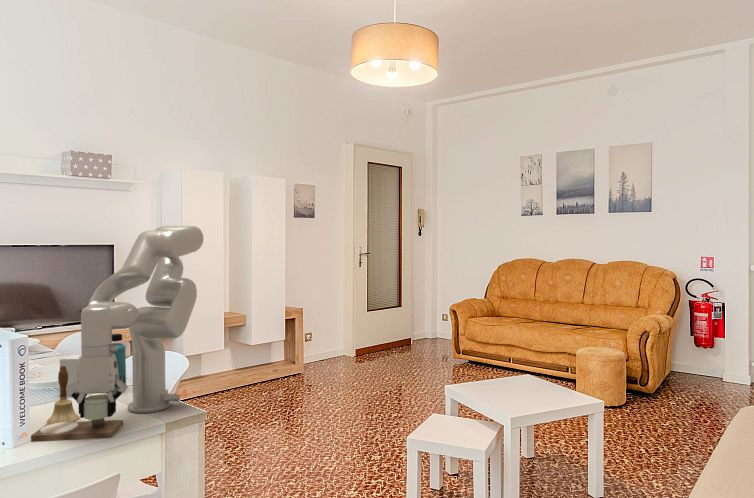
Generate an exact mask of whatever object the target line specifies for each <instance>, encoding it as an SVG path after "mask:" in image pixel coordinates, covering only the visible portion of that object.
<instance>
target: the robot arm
mask: <svg viewBox="0 0 754 498" xmlns="http://www.w3.org/2000/svg"><path fill="white" fill-rule="evenodd" d="M203 243H204V234H203V232H202V230H201V229H200V227H198V226H196V225H164V226H159V227H157V228H155V229H153V230H145V231H142V232H141V233H139V235H137V238H136V239H135V241H134V243H133V245H132V247H131V250H130V252H129V253H128V255H127V257H126V259H125V261H124V264H123V265H122V267H121V268H120V269H119V270H117V271H116V272H114V273H113V274H111V275H110V276H109V277H108V278H107V279H105V280H104V281H103V282H102V283H100V284H99V286H97V288H96V289H95V291H94V292H93V293H92V296H91V297H90V299H89V301H88V304H87V306H85V307H83V308H81V309H82V310H81V311H80V327H81V328H80V331H81V332H80V337H81V339H80V345H81V346H80V348H81V350H80V351H81V353H80V355H81V356H80V357H79V360H78V365H77V371H76V380H75V381H74V382H73V383H72V384H71V385H70V386H69V387H68V388H67V389H66V391H67V392H68V393H69V394H70V395H71V396H70V397H72V398H73V399H74V400H75V401H76V403H77V404H78V414H79V419H84V403H85V398H87V397H88V394H105V395H107V396H108V398H109V403H108V417H107V418H112V416H114V414H115V413H116V412H117V402H116V401H117V400H118V399H119V398H120V397H121V396H122V394H123V393H124V392H125V391H127V389H128V388H129V386H128V385H127V383H126V384H125V383H124V382H123V381H121V380H120V379H119V373H118V365H117V359H116V355H115V354H112V353H113V352H114V351H117V346H113V341H112V334H113V330H124V329H125V330H126V329H128V330H129V331H128V332H129V334H130V340H131V346H132V347H131V349H132V350H131V351H132V357H131V359H132V401H131V402H130V403H129V404H128V405H127V410H128V411H129V412H131V413H135V414H139V413H140V414H146V413H147V414H148V413H155V412H159V411H162V410H166V409H168V408H170V406H171V405H172V402H179V401H180V399H181V398H180V394H178V393H170V392H169V389H166V349H165V345H164V343H163V341H162V340H161V339H177V338H179V337H181V336H182V335H183V334H184V333H185V331H186V328H187V326H188V323H189V321H190V318H191V316H192V312H193V310H194V307H195V304H196V301H197V296H198V289H197V285H196V283H195V282H194V281H193V280H191V279H190V278H185V277H182V276H183V274H184V264H183V262H182V259H181V258H180V257H182V256H183V257H184V256H185V255H189V254H192V253H195V252H197V251H198V250H199V249H201V247H202V246H203ZM150 279H151V280H150ZM148 282H149V284H148V286H147V289H146V291H145V300H146V302H147V303H148V304H149V305H150V306H140V307H138V308H137V307H136V306H135V305H134V304H132V303H130V302H123V301H122V302H120V301H114V300H115V299H116V298H117V297H119V296H120V295H121V294H123V293H125V292H127V291H129V290H132V289H134V288H137V287H140V286H141V285H144V284H146V283H148ZM118 386H119V387H120V389H118V391H117V392H116V390H114V389H115V388H117V387H118ZM75 387H76V391H77V392H76V391H75V389H74V388H75ZM79 393H80V394H79Z"/></svg>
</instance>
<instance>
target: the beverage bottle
mask: <svg viewBox="0 0 754 498" xmlns="http://www.w3.org/2000/svg"><path fill="white" fill-rule="evenodd" d="M121 341H123V335H122V333H112V343H113V342H115V343H113V346H117V351H114V352H113V353H112V354H115V355H116V359H117V365H118V373H119V379H120V380H121V381H123V382H124V383H125V384H126V385H127V365H126V362H127V361H126V360H127V359H126V358H127V357H126V356H127V355H126V347H127V346H126V345H124V343H121ZM116 390H118V391H119V390H120V387H119V386H118V387H117V388H115V389H114V391H116Z"/></svg>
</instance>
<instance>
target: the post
mask: <svg viewBox="0 0 754 498" xmlns="http://www.w3.org/2000/svg"><path fill="white" fill-rule="evenodd" d="M90 421H92V428H93V429H97V428H102V427H104V426H105V418H102V419H98V420H90Z"/></svg>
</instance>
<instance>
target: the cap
mask: <svg viewBox="0 0 754 498" xmlns="http://www.w3.org/2000/svg"><path fill="white" fill-rule="evenodd" d="M108 403H109V398H108V396H107V394H93V395H88V396H86V398H85V403H84V417H83V419H85V420H87V421H91V420H98V419H102V418H104V419H106V418H109V417H108Z"/></svg>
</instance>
